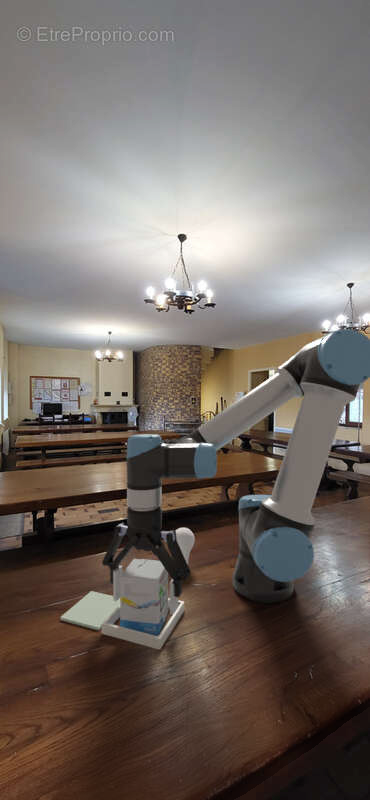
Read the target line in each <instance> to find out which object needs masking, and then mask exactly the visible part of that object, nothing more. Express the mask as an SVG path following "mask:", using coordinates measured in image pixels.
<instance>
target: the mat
mask: <svg viewBox="0 0 370 800" xmlns="http://www.w3.org/2000/svg"><path fill="white" fill-rule="evenodd" d="M119 605H120V598H119V599H118V600H117V601H113V595H110V594H105V593H101V592H97V591H93V590H91V591H89V593H87V594H86V595H85V596H83V598H81V599H80V600H79V601H78V602H77V603H75V604H74V605H73V606H72V607H71V608H69V609H68V610H67V611H66V612H65V613H63V614H62V615H61V616H60V617H59V618H60V621H62V622H63V621H64V622H67V623H69V624H73V625H77V626H82V627H84V628H89V629H92V630H96V631H100V630H102V623H103V622H104V621H105V620H106V619H107V618H108V617H109V616H110V615H111V614H112V613H113V612H114V610H115V609H116V608H117V607H118V606H119Z"/></svg>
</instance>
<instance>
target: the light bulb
mask: <svg viewBox="0 0 370 800" xmlns="http://www.w3.org/2000/svg"><path fill="white" fill-rule="evenodd" d="M175 531H176V538H177V542H178V544H179V547H180V549H181V551H182V554H183V556H184V558H185V560H186V563H187V565H189V557H190V552H191V550H192V549H193V547H194V545H195V542H196V540H195V539H196V538H195V536H194V533H193V532H192V531H191V529H189V528H188V527H179V528H177V529H176V530H175Z"/></svg>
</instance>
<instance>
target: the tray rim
mask: <svg viewBox="0 0 370 800" xmlns="http://www.w3.org/2000/svg"><path fill="white" fill-rule="evenodd" d="M185 603H186V602H185V601H183V600H180V599H178V608H177V610H176V611H175V613H174V614H171V615H172V616H171V617H169V618H170V619H169V620H168V621H167V623H166V624H165V625H164V628H163V629H161V631H160V633H159V636H155V635H151V634H147V633H143V632H139V631H136V630H132V629H128V628H124V627H120V626H119V625H116V622H117V621H118V620H120V605H119V606H118V607H117V608H116V609H115V610H114V612H113V613H112V614H111V615H110V616H109V617H108V618H107V619H106V620H105V621H104V622H103V623H102V628H101V634H102V635H105V636H108V637H113V638H115V639H120V640H124V641H127V642H131V643H134V644H138V645H141V646H142V645H143V646H146V647H149V648H152V649H156V650H161V649H162V647H164V646H163V645H164V644H165V642H167V641H166V640H168V638H169V636H170V635H171V633H172V631H174V628H175V626H176V624H177V623H178V622H179V620H180V619H181V617H182V615H183V614H184V612H185V611H186V609H185ZM168 610H170V597H168Z"/></svg>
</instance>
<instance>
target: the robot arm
mask: <svg viewBox="0 0 370 800" xmlns="http://www.w3.org/2000/svg"><path fill="white" fill-rule="evenodd" d="M368 379H370V338H369V337H368V336H367V335H365V334H364V333H362V332H360V331H359V330H356V329H351V328H344V329H339V330H331V331H330V332H328V333H326V334H325V335H324V336H323V337H319V338H317V339H315V340H312V341H310V342H308V343H307V344H306V345H305V346H303V347H302V348H301V349H300V350H299V351H297V352H296V353H295V354H294V355H293V356H291V357H290V358H289V359H288V360H287V361H285V362H284V363H283V364H281V365H280V366H278V367H277V368H276V373H275V374H274V375H273V376H270V377H269V378H268V379H267V380H266V381H264V382H262V383H261V384H260V385H259V384H258V386H257V387H255V388H253V389H252V390H250V392H248V393H247V394H245V395H244V396H242V397H241V398H239V399H238V400H236V401H235V402H234V403H232V404H231V405H229V406H227V407H226V408H225V409H223V410H222V411H221V412H219V413H218V414H216V415H215V416H213V417H212V418H210V419H209V420H207V421H206V422H204V423H203V424H202V425H200V426H198V428H196V429H195V430H193V431H192V432H190V433H189V434H187V435H185V436H182V437H181V438H179V439H178V440H177V441H176V443H166V442H165V443H164V442H163V441H162V437H161V435H159V434H155V433H154V434H153V433H152V434H151V433H142V434H140V433H139V434H133V435H131V436H130V437H128V439H127V447H126V448H127V450H126V456H125V459H126V482H127V483H126V505H127V506H128V507H127V508H126V514H127V515H126V521H127V522H126V523H127V525H125V523H124V522H121V523H119V524H118V525H116V526H115V527H114V533H113V537H112V540H111V542H110V544H109V546H108V547H107V548H108V549H107V550H106V552H105V555H104V558H103V560H102V566H104V567H108V568H109V571H110V572H109V574H110V584H112V585H113V587H112V588H113V589H112V590H113V593H112V596H113V601H117V600H118V599H119V598H120V576H121V575H122V573H123V572H124V570H123V568H124V567H123V565H120V564H122V562H123V560H124V559H125V558H126V557H127V556H128V555H129V553H130V552H131V551H132V550H133V548H135V550H137V551H138V550H139V551H142V550H143V551H145V552H150V551H151V552H152V554H153V555H154V556H155V557H157V559H158V561H160V562H161V563H162V565H163V566H164V568H165V569H166V571H167V572H168V576H170V578H171V580H170V581H169V598H170V609H169V614H170V615H173V614H174V613H175V611H176V610H177V608H178V600H179V598H180V596H181V594H182V592H183V582H186V581H187V580H188V578H189V577H190V575H191V569H190V567H189V566H188V565H189V564H188V565H187V563H186V560H185V558H184V556H183V554H182V551H181V549H180V547H179V544H178V542H177V538H176V530H175V529H172V530H170V531H165V530H163V529H162V527H163V526H162V523H163V507H162V506H161V504H163V501H162V499H163V498H162V497H163V496H162V495H163V493H162V485H163V484H162V480H163V479H165V480H166V479H168V480H169V479H199V480H202V479H207V478H208V479H209V478H210V479H211V478H214V477H215V476H216V475H217V468H218V467H217V466H218V457H217V455H218V453H217V451H219V450H220V449H221V448H223V447H225V446H226V445H227V444H229V443H230V442H232V441H233V440H235V439H236V438H237V437H239V436H241V435H242V434H243V433H245V432H246V431H247V430H249V429H250V428H252V427H253V426H255V425H257V424H258V423H259V422H260V421H263V419H265V418H266V417H268V416H270V415H271V414H272V413H273V412H276V411H277V410H278V409H279V408H281V407H283V406H285V404H287V403H288V402H290V401H292V399H301V398H302V400H301V404H300V406H299V409H298V412H297V416H296V419H295V422H294V424H293V428H292V430H291V434H290V437H289V439H288V443H287V446H286V450H285V453H284V456H283V458H282V461H281V463H280V468H279V471H278V474H277V476H276V480H275V483H274V486H273V489H272V492H271V494H249V495H248V494H247V495H244V496H242V497H240V499H239V501H238V508H237V509H238V533H239V535H238V537H239V538H238V539H239V540H238V542H239V544H238V545H239V551H238V552H239V553H238V557H237V560H236V564H235V567H234V570H233V572H232V573H233V574H232V586H233V588H234V590H235V591H236V592H237V593H238V594H239V595H241V596H242V597H244V598H246V599H248V600H251V601H254V602H259V603H267V604H270V603H280V602H283V601H285V600H287V599H289V598H291V597H292V595H293V593H294V581H296V580H297V579H300V578H303V577H304V576H305V575H306V574H307V573H308V572H309V571H310V569H311V568H312V565H313V563H314V559H315V550H314V546H313V543H312V541H311V536H312V535H313V531H314V527H315V524H316V521H315V518H314V517H313V515H312V512H311V511H312V508H313V505H314V501H315V499H316V495H317V492H318V489H319V486H320V483H321V480H322V477H323V474H324V471H325V469H326V465H327V462H328V458H329V455H330V452H331V449H332V446H333V444H334V440H335V438H336V433H337V431H338V428H339V426H340V422H341V418H342V416H343V413H344V409H345V407H346V405H348V404H350V403H352V402H354V401H355V400H356V398H357V395H358V393H359V389H360V386H361V384H363V383H365V382H366V381H367V380H368ZM125 535H127V537H128V539H129V540H128V542H127V543H126V544H125V546H124V547H123V548H122V549H121V551H120V552H119V553H118V554H117V556H116V553H117V552H118V549H119V547H120V544H121V542H122V540H123V538H124V536H125ZM162 539H163V541H164V542H163V541H162ZM164 543H166V545H167V548H168V550H167V549H166V546H165V544H164ZM168 551H169V552H168ZM115 556H116V557H115ZM114 557H115V558H114Z"/></svg>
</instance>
